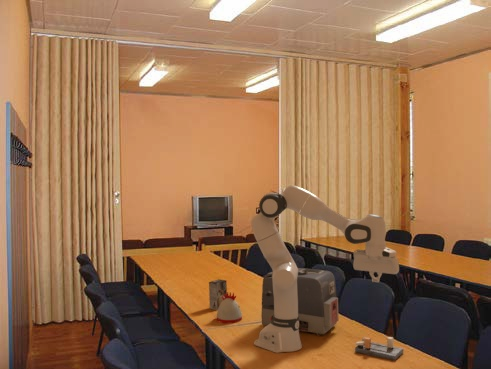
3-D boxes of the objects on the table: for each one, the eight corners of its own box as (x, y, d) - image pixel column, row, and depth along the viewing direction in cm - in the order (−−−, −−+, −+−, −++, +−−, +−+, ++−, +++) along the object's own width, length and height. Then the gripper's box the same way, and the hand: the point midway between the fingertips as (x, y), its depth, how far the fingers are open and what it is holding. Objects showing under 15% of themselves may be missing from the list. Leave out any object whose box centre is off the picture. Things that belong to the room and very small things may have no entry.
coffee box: (219, 305, 303) (218, 278, 302) (227, 306, 299) (226, 280, 298) (209, 308, 295) (208, 281, 295) (217, 310, 291) (216, 283, 291)
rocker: (355, 345, 224) (355, 343, 224) (357, 343, 226) (357, 341, 226) (363, 345, 222) (362, 342, 222) (365, 343, 224) (364, 341, 224)
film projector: (348, 326, 259) (347, 268, 258) (323, 343, 235) (323, 279, 234) (282, 314, 282) (281, 261, 281) (253, 328, 257) (253, 270, 256)
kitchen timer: (238, 323, 266) (238, 295, 266) (213, 322, 269) (213, 294, 269) (244, 316, 280) (243, 289, 279) (220, 315, 283) (219, 288, 282)
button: (361, 342, 229) (361, 338, 229) (364, 340, 231) (363, 337, 231) (367, 343, 227) (367, 339, 227) (369, 342, 229) (369, 338, 229)
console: (354, 351, 223) (354, 346, 223) (363, 344, 232) (363, 339, 232) (394, 360, 212) (394, 354, 212) (403, 352, 221) (403, 346, 221)
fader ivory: (387, 347, 222) (387, 338, 222) (389, 345, 224) (389, 336, 224) (391, 348, 221) (391, 339, 221) (393, 346, 223) (393, 337, 222)
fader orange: (364, 347, 222) (364, 338, 222) (366, 346, 224) (366, 337, 223) (368, 348, 220) (368, 339, 220) (371, 346, 222) (370, 338, 222)
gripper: (350, 250, 227) (351, 280, 227) (395, 254, 215) (395, 285, 215) (356, 248, 232) (356, 277, 232) (400, 251, 220) (400, 283, 220)
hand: (375, 281), depth 224 cm, fingers closed
